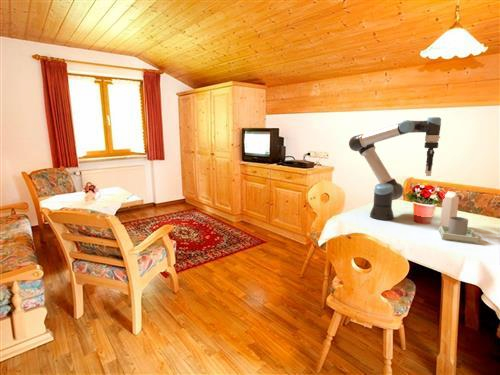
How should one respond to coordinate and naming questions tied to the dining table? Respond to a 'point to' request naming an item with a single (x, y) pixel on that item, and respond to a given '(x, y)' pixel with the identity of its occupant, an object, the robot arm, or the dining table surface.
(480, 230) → the dining table surface
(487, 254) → the dining table surface
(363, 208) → the dining table surface
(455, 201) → the milk
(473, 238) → the bin
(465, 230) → the cup
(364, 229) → the dining table surface
